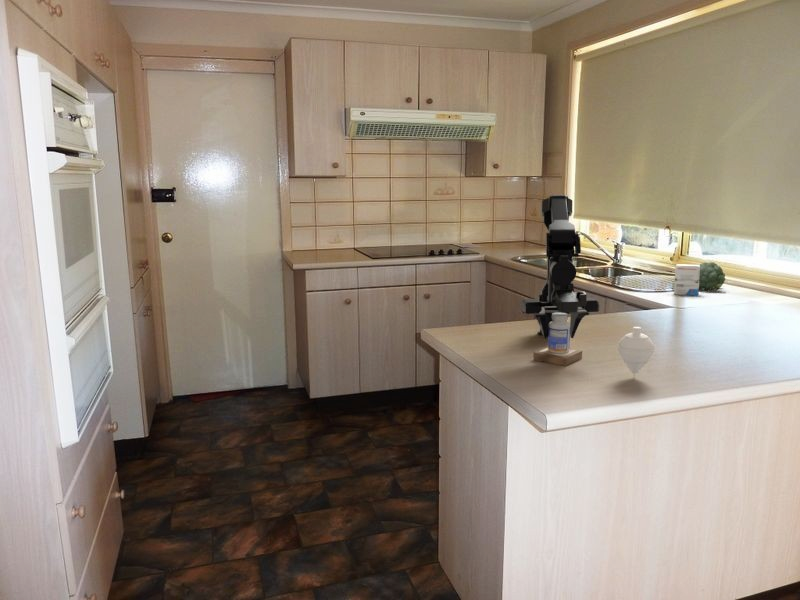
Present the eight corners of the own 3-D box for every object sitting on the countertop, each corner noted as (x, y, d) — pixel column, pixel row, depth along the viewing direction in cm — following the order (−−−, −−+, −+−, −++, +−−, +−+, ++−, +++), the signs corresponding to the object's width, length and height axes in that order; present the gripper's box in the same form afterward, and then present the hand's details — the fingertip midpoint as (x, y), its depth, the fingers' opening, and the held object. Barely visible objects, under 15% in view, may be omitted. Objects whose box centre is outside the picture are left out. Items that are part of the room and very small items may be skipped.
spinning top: (610, 377, 144) (613, 327, 142) (626, 370, 149) (628, 322, 147) (642, 385, 139) (646, 332, 136) (657, 377, 144) (660, 326, 142)
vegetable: (739, 285, 251) (721, 272, 243) (712, 304, 258) (693, 292, 249) (723, 265, 259) (705, 251, 251) (697, 284, 266) (679, 271, 258)
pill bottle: (553, 347, 163) (554, 310, 161) (572, 350, 160) (574, 313, 158) (543, 351, 159) (545, 314, 157) (563, 354, 156) (564, 317, 154)
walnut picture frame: (533, 359, 159) (533, 351, 159) (550, 352, 166) (550, 344, 166) (565, 366, 154) (565, 357, 153) (581, 358, 160) (582, 350, 160)
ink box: (698, 294, 246) (701, 264, 244) (697, 296, 242) (699, 266, 239) (675, 292, 250) (677, 263, 248) (673, 294, 246) (675, 264, 244)
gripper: (532, 284, 148) (530, 347, 150) (609, 282, 149) (606, 345, 151) (520, 277, 158) (519, 336, 161) (592, 275, 159) (589, 334, 162)
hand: (558, 338), depth 159 cm, fingers open, 7 cm apart
